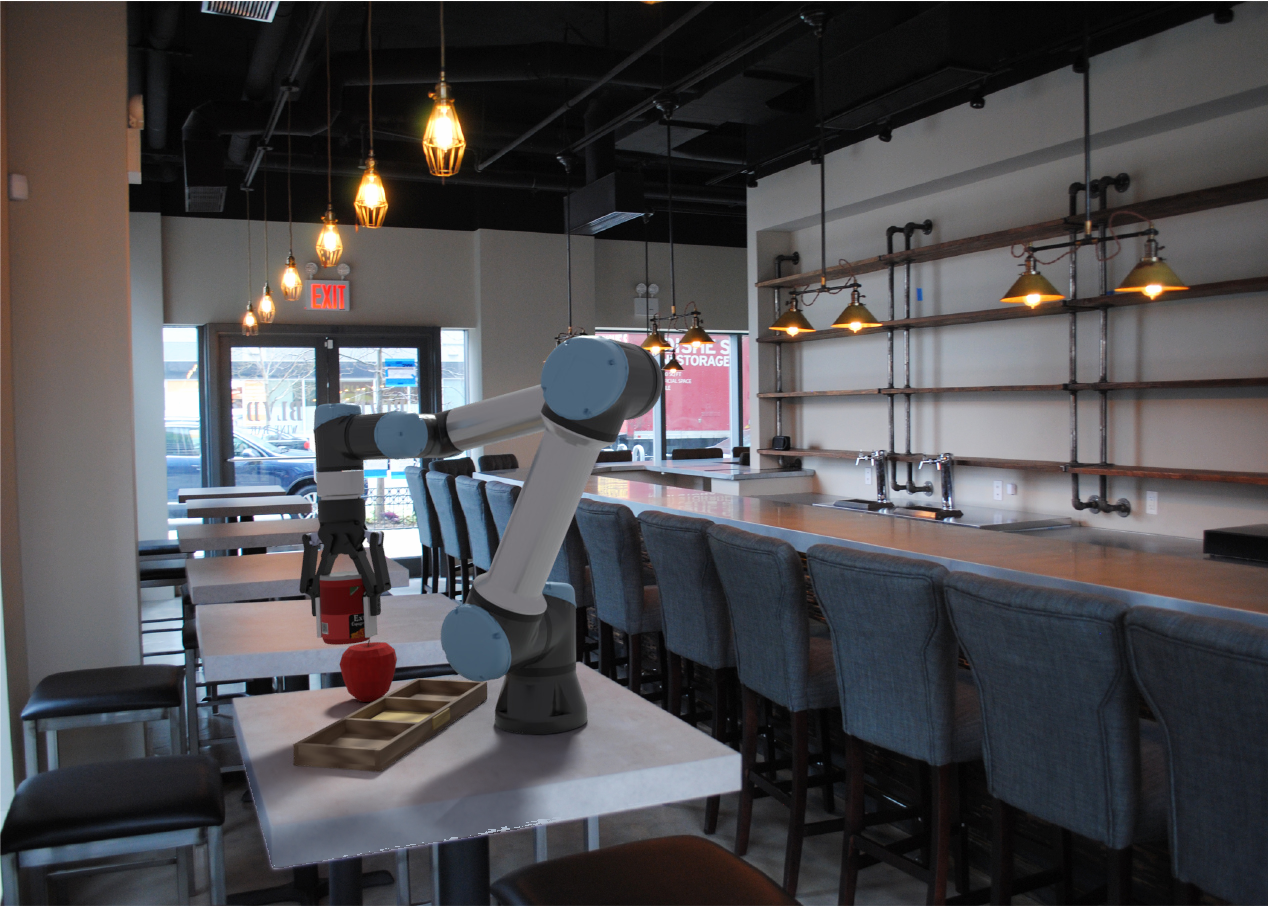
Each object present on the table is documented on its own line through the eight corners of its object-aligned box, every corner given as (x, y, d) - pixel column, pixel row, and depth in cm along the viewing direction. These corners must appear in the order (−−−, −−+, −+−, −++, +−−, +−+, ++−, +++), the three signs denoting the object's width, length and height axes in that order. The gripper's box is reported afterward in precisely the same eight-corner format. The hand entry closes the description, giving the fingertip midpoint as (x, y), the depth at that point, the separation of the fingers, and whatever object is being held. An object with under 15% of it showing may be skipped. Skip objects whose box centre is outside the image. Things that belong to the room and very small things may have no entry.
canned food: (358, 645, 153) (355, 576, 153) (312, 645, 155) (309, 577, 155) (380, 635, 161) (377, 570, 161) (336, 636, 162) (333, 571, 162)
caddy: (488, 698, 172) (488, 681, 172) (382, 771, 134) (381, 750, 134) (417, 694, 175) (417, 678, 175) (293, 765, 137) (293, 744, 137)
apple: (388, 689, 179) (388, 631, 179) (404, 701, 171) (403, 640, 171) (334, 697, 174) (334, 637, 174) (348, 709, 166) (347, 646, 166)
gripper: (409, 494, 159) (415, 631, 159) (297, 498, 164) (303, 632, 164) (388, 496, 152) (394, 640, 152) (271, 501, 156) (277, 640, 156)
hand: (347, 635), depth 158 cm, fingers closed on canned food, 8 cm apart
